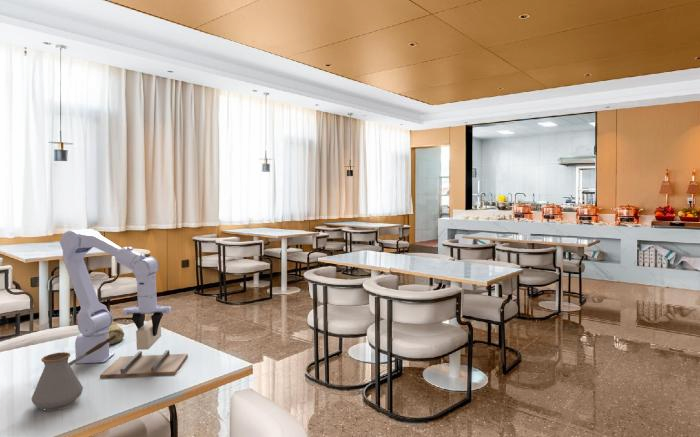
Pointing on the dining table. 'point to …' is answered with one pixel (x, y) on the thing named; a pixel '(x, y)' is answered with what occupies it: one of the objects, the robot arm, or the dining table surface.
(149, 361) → the tan panel with rails
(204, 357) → the dining table surface
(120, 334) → the pastry
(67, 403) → the coffee pot
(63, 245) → the robot arm
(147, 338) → the beige rectangular block
